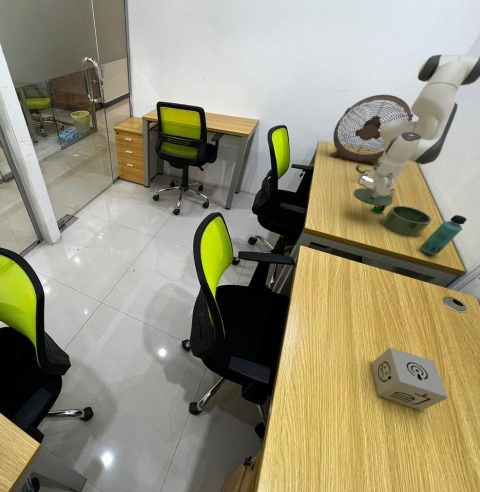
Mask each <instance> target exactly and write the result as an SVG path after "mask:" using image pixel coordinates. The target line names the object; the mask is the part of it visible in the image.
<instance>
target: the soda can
mask: <svg viewBox="0 0 480 492" xmlns="http://www.w3.org/2000/svg"><path fill="white" fill-rule="evenodd" d="M394 195H395V193H393V192H392V191H390V192H389V193H388V196H390V197H391V198H392V199H393V198H394ZM387 207H388V206H376V205H373V207H372V208H371V212H372V213H374V214H376V215H382V214H383V213H384V211H385V210H386V208H387Z"/></svg>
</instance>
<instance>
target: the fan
mask: <svg viewBox="0 0 480 492" xmlns="http://www.w3.org/2000/svg"><path fill="white" fill-rule="evenodd" d="M381 101H382V104H381ZM389 115H390V116H389ZM351 116H352V117H351ZM413 118H414V114H413V113H412V111H411V107H410V106H409V105H408V103H407V102H406V101H405V100H403V99H402V98H401V97H399V96H395V95H392V94H376V95H372V96H369V97H365V98H363V99H361V100H358V102H355V103H354V104H352V106H350V107H348V108H346V110H345V111H344V114H343V115H342V116H341V117H340V119H339V120H338V122H337V123H336V125H335V127H334V130H333V136H332V137H333V144H334V147H335V149H336V150H334V151H333V152H332V153H331V155H330V158H334V159H335V158H337V157H338V156H340V155H341V156H342V157H345V158H347V159H349V160H351V161H357V162H358V161H359V162H368V161H371V164H372V166H373V167H374V166H375V165H376V164H377V163H378V162H379V160H380V158H381V157H382V155H383V152H384V149H385V144H384V141H383V139H382V138H381V136H380V130H381V128H382V127H383V126H384V125H385V124H386V123H387V122H389V121H394V120H404V121H413ZM367 147H368V148H369V149H367ZM362 149H367V151H362Z"/></svg>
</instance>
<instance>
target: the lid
mask: <svg viewBox="0 0 480 492" xmlns="http://www.w3.org/2000/svg"><path fill="white" fill-rule="evenodd" d="M372 190H373V189H370V188H366V187H365V188H364V187H363V188H357V189H355V190H354V191H353V194H352V195H353V196H354V197H355V198H356V199H357V200H359V201H360V202H363V203H364V204H367V205H371V206H374V205H376V206H387V207H388V206H391V205H392V204H393V201H394V200H393V198H391V197H390V196H388V195H387V196H379V195H378V196H377V197H376V198H374V197H372V195H373V193H375V191H376V189H375V190H374V191H373V193H371V192H372Z"/></svg>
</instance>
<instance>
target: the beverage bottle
mask: <svg viewBox="0 0 480 492" xmlns="http://www.w3.org/2000/svg"><path fill="white" fill-rule="evenodd" d="M467 221H468V220H467V218H466V216H463V215H459V214H455V215H453V216H452V217H451V218H450V219H449V220H446V221H443V222H441V224H440V225H439V227H437V229H435V231H433V232H432V233H431V234H430V236H428V238H427V239H426V240H425V241H424V242H423V243H422V244H421V245H420V250H421V251H422V252H423V253H426V254H428V255H430V256H431V255H433V256H435V255H438V254H440V253H441V251H443V250H444V249H445V248H446V247H447V246H448V244H450V242H452V241H453V239H454V238H456V237H457V235H458V234H459V233H460V232H461V231H462V230H463V226H462V225H464V224H465V223H466V222H467Z"/></svg>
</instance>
